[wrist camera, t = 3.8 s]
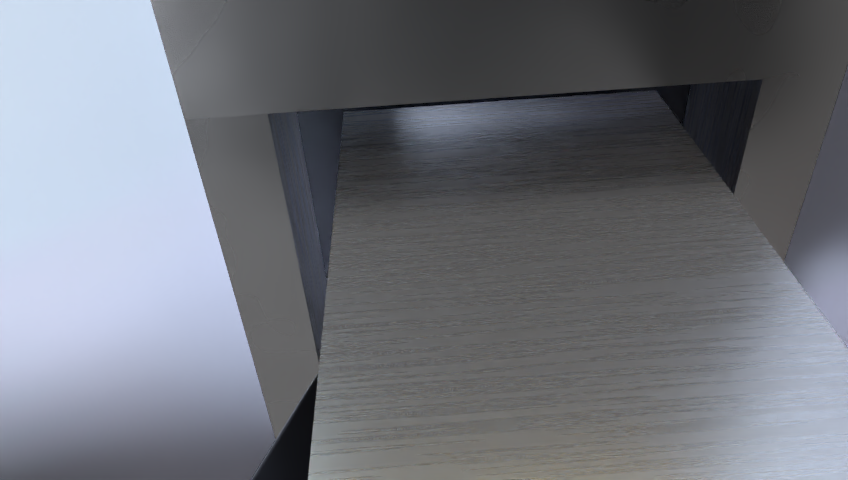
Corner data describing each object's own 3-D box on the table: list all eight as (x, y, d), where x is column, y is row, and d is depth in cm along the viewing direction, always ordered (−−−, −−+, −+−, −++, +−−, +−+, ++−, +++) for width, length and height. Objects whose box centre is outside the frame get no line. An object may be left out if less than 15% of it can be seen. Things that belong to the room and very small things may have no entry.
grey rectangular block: (620, 319, 13) (817, 814, 7) (373, 337, 13) (366, 849, 7) (655, 89, 10) (1025, 587, 4) (343, 111, 10) (292, 643, 4)
